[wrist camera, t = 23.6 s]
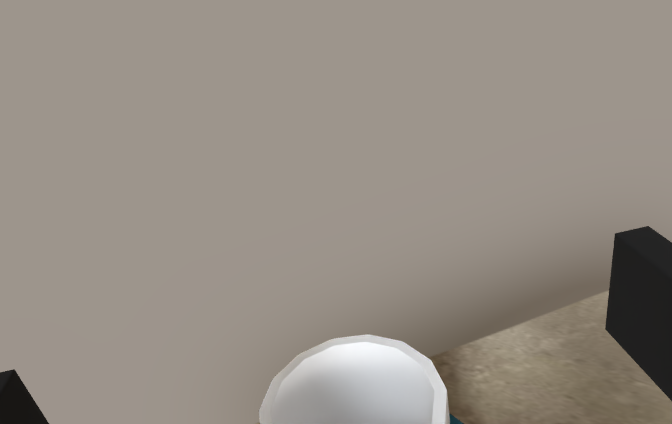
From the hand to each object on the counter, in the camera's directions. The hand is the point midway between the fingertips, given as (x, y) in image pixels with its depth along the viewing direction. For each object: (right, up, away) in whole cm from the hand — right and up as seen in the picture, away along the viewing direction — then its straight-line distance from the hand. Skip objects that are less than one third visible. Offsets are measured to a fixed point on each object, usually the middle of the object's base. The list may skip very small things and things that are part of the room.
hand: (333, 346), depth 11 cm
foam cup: (+3, -18, +20) cm, 27 cm away
